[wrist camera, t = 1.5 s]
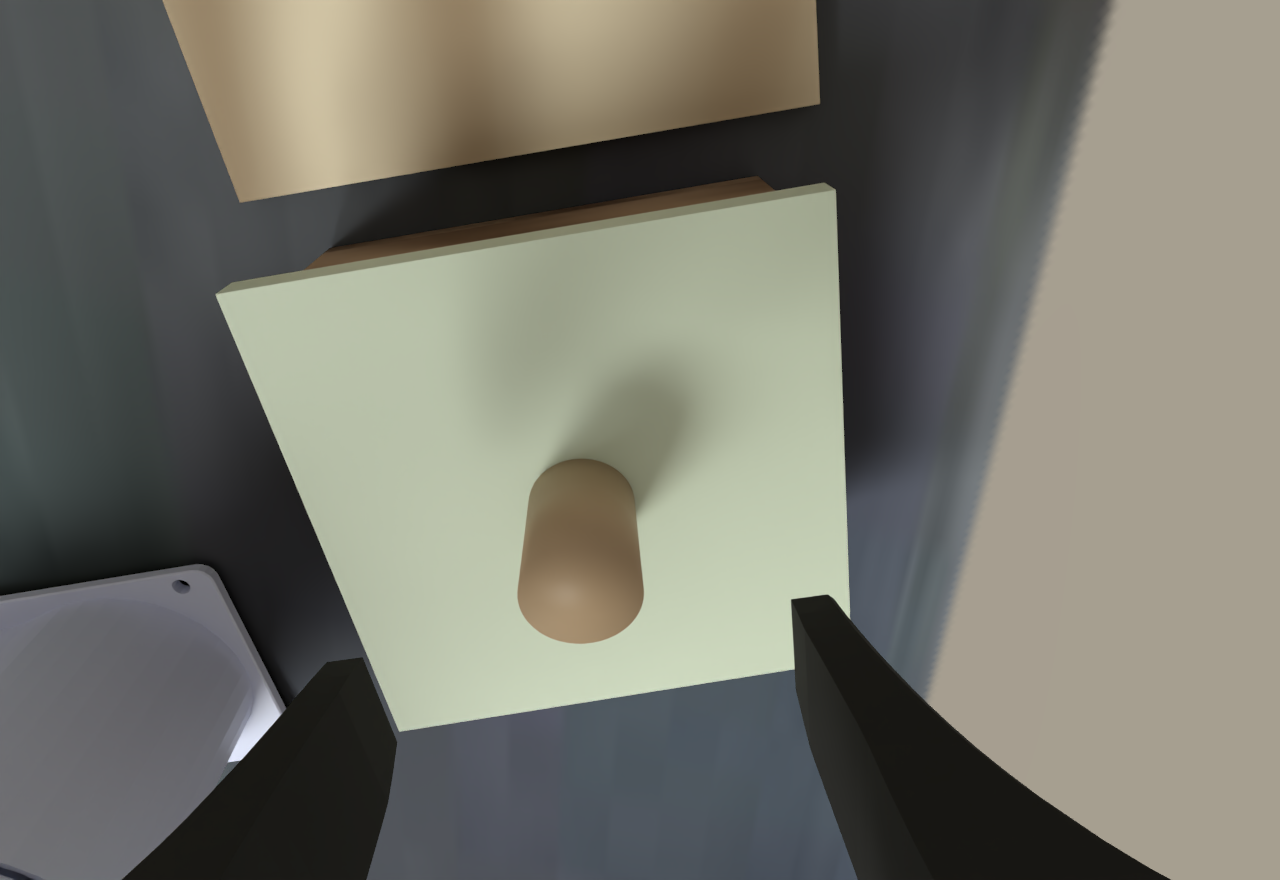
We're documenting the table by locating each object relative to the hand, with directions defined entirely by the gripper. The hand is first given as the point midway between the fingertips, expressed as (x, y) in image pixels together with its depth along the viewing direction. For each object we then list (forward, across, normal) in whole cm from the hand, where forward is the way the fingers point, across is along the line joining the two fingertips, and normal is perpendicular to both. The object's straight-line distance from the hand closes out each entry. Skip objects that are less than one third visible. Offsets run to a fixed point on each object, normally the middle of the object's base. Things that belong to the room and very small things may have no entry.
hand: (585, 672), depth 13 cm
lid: (+6, 0, 0) cm, 6 cm away
